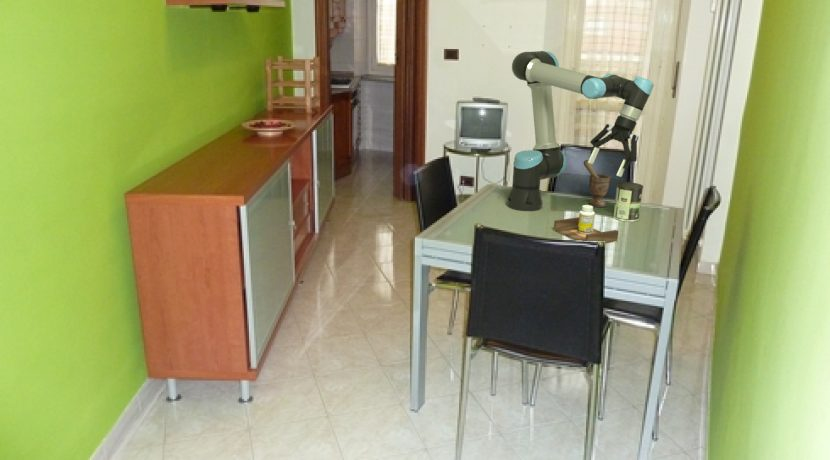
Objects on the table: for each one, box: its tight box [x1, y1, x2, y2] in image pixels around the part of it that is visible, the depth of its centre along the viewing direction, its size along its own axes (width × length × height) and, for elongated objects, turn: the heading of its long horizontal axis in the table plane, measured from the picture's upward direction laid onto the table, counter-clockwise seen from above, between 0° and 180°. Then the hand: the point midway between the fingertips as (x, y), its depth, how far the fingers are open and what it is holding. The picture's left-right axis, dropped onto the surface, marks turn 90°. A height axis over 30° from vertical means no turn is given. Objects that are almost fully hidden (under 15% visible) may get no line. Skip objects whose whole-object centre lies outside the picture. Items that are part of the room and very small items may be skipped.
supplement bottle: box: [578, 204, 596, 234], centre depth 248 cm, size 6×6×10 cm
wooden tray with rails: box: [553, 216, 619, 244], centre depth 249 cm, size 20×14×4 cm
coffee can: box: [612, 181, 644, 223], centre depth 271 cm, size 10×10×14 cm
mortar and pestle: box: [583, 159, 611, 208], centre depth 287 cm, size 12×9×20 cm
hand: (604, 169), depth 258 cm, fingers open, 13 cm apart
